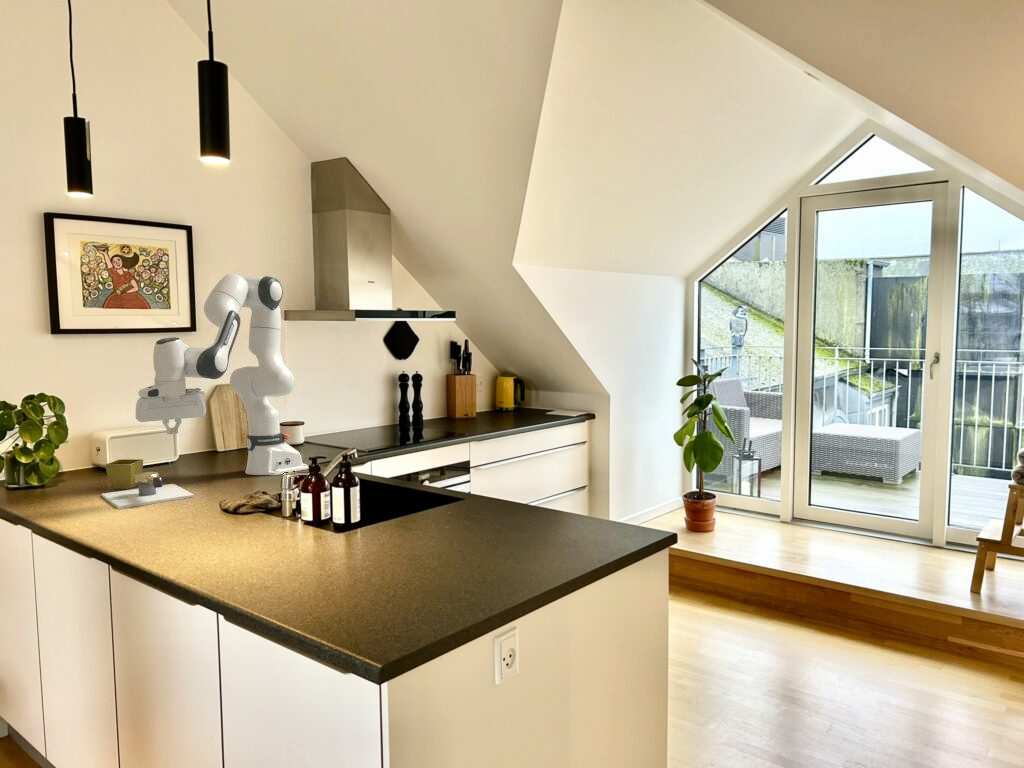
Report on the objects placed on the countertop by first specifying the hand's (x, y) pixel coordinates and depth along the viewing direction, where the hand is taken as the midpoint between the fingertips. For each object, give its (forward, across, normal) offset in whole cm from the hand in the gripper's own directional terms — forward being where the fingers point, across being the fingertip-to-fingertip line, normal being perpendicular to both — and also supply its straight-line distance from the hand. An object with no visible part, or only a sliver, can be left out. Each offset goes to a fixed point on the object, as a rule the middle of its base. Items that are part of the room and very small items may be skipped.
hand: (172, 433), depth 238 cm
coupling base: (+21, +6, -9) cm, 23 cm away
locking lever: (+15, +6, -4) cm, 17 cm away
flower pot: (+21, +8, -28) cm, 36 cm away
